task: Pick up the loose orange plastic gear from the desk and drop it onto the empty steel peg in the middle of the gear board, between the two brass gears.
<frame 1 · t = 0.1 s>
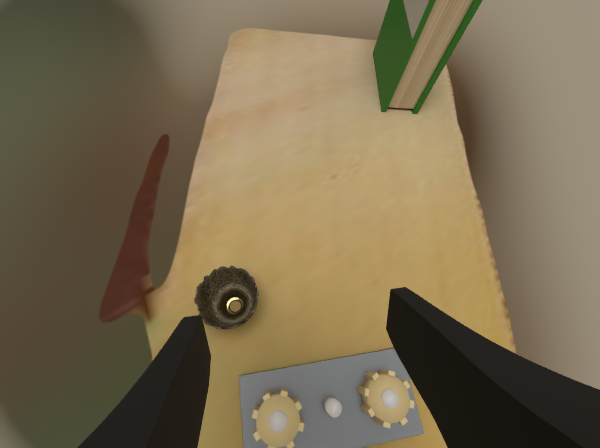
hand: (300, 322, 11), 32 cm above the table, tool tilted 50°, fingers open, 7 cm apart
gear board: (328, 403, 38), on the table
hardback book: (393, 82, 64), on the table
cup: (235, 306, 42), on the table
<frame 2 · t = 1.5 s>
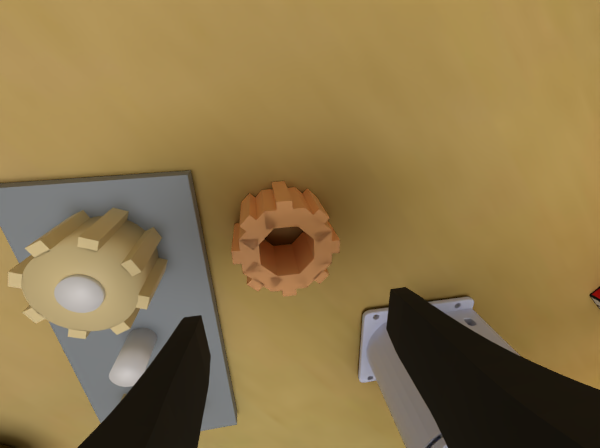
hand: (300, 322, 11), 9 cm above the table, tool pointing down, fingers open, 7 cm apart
gear board: (147, 327, 21), on the table
loose gear: (280, 224, 19), on the table
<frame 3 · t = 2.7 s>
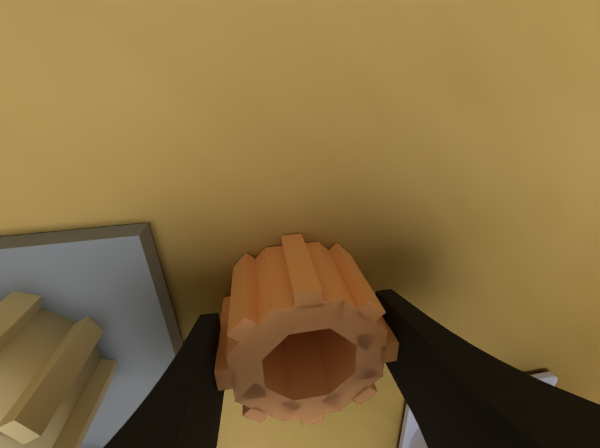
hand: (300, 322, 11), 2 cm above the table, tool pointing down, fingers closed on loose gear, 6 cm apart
gear board: (98, 437, 14), on the table
loose gear: (294, 295, 13), on the table, touching gripper
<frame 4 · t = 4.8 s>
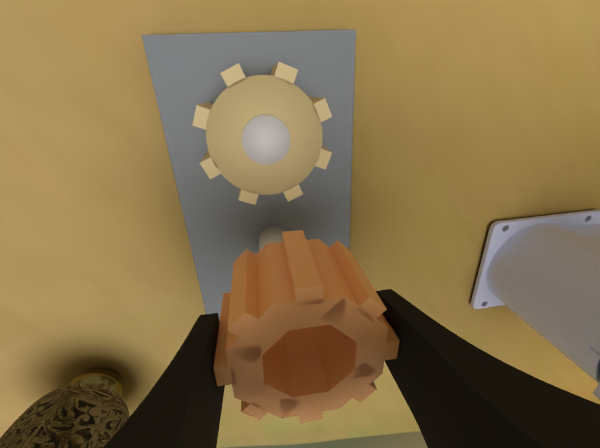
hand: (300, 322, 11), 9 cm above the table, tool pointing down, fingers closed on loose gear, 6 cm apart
gear board: (271, 231, 19), on the table
loose gear: (294, 292, 13), point 7 cm above the table, touching gripper
cup: (101, 378, 22), on the table
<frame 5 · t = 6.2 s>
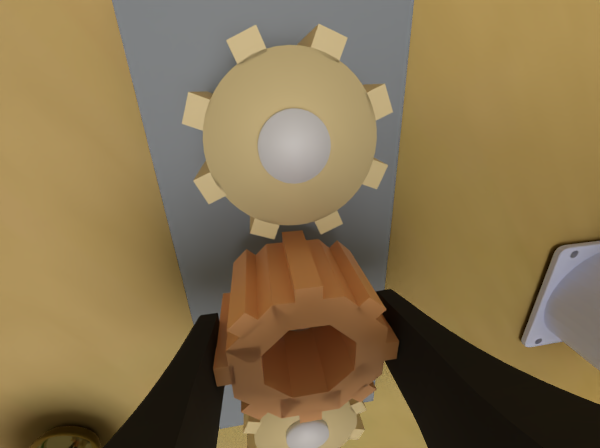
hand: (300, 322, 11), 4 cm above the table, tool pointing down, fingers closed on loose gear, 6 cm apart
gear board: (287, 260, 15), on the table
loose gear: (294, 292, 13), point 3 cm above the table, touching gripper
cup: (74, 435, 18), on the table
when the fingers open (4 cm above the table, at t = 7.1 s): loose gear stays where it is, resting on gear board.
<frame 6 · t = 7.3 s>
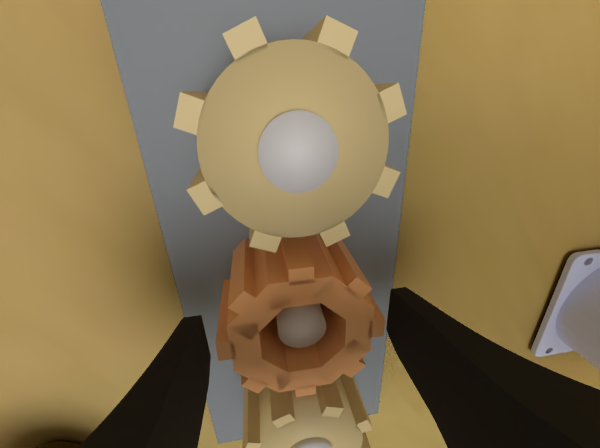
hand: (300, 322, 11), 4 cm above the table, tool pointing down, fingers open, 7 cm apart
gear board: (289, 269, 14), on the table
loose gear: (290, 279, 13), point 1 cm above the table, touching gear board
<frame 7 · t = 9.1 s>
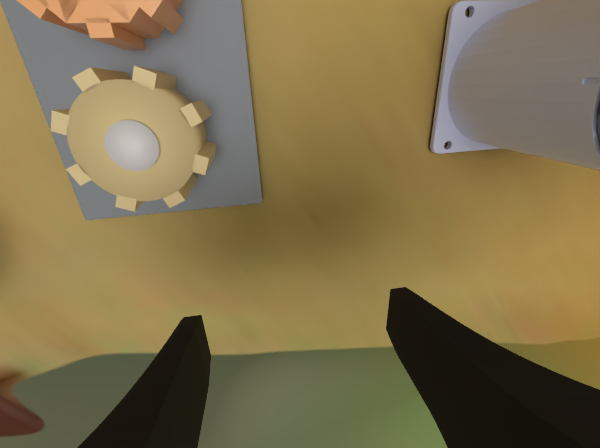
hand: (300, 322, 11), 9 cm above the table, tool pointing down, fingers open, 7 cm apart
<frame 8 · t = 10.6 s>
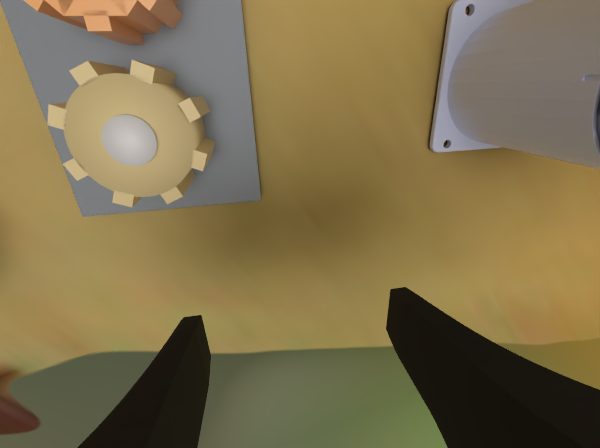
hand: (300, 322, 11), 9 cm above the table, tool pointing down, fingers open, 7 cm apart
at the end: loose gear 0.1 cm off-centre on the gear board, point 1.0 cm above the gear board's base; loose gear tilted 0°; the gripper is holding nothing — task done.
